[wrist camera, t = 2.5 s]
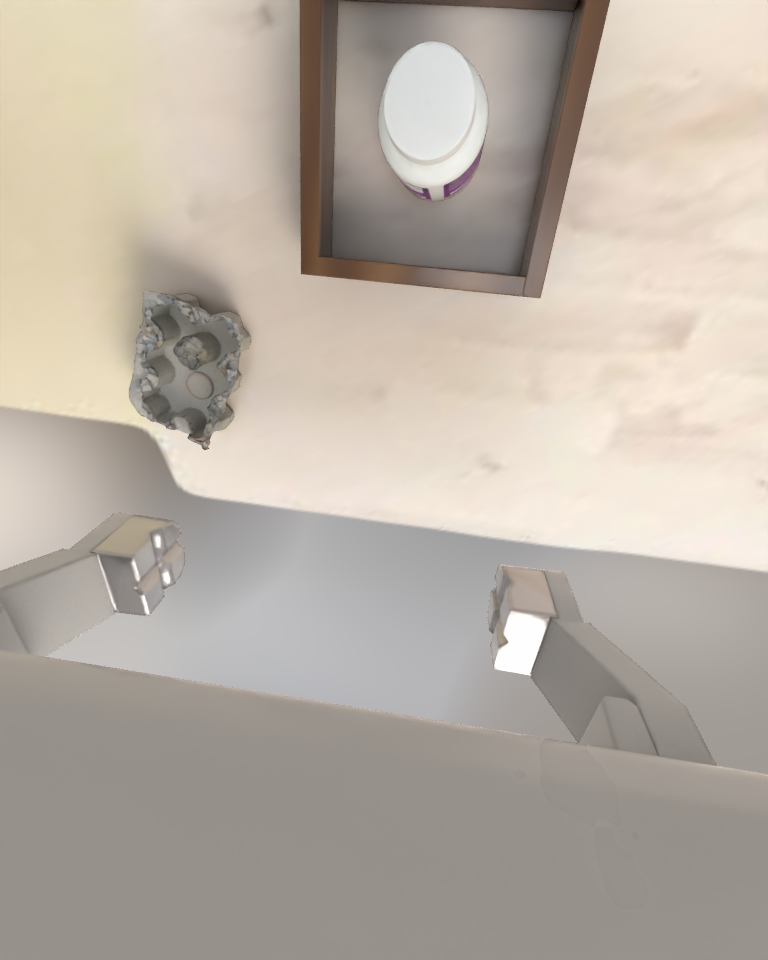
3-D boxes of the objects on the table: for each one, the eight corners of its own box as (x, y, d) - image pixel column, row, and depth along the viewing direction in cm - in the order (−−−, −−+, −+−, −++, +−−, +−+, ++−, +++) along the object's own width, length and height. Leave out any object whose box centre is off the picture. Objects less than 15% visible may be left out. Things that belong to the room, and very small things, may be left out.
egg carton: (230, 439, 38) (207, 458, 35) (149, 401, 38) (117, 417, 34) (263, 324, 33) (240, 332, 30) (171, 278, 33) (136, 281, 29)
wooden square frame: (318, 272, 31) (300, 274, 27) (322, -24, 24) (299, -75, 20) (529, 293, 30) (540, 298, 26) (597, -13, 23) (625, -64, 19)
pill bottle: (475, 83, 25) (487, -7, 17) (485, 189, 27) (500, 158, 19) (385, 111, 26) (354, 41, 18) (402, 211, 29) (381, 191, 20)
